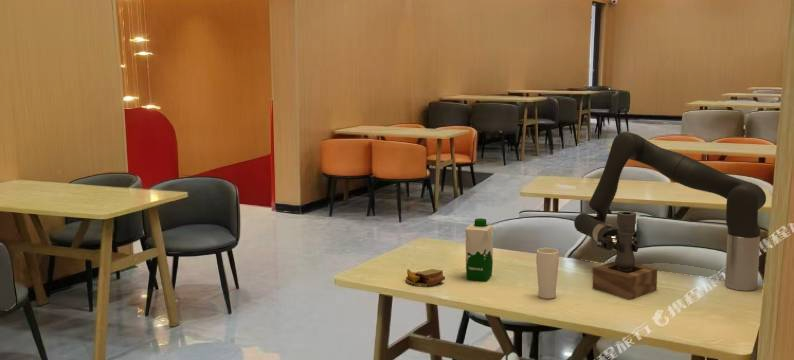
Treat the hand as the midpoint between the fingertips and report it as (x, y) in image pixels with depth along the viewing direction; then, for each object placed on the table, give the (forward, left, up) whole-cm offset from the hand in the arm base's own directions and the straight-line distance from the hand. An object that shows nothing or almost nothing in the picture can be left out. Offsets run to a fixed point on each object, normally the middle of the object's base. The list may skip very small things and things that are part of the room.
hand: (629, 249), depth 218 cm
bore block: (-1, -2, -14) cm, 14 cm away
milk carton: (+26, -41, -14) cm, 51 cm away
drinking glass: (+23, -13, -14) cm, 30 cm away
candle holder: (-1, -2, -14) cm, 14 cm away
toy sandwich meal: (+42, -50, -14) cm, 67 cm away
